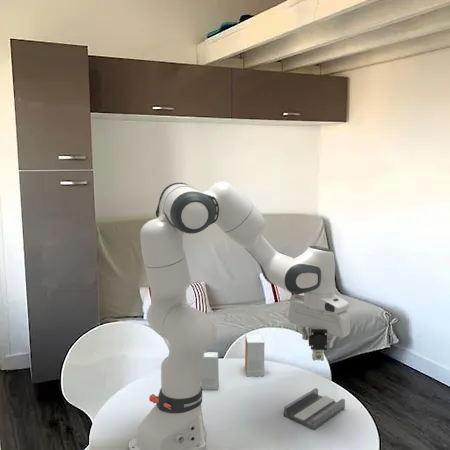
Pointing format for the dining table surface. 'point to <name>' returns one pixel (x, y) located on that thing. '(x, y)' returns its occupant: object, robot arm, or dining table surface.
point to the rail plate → (313, 409)
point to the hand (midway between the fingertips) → (317, 343)
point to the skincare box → (210, 371)
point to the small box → (254, 354)
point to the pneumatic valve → (317, 342)
